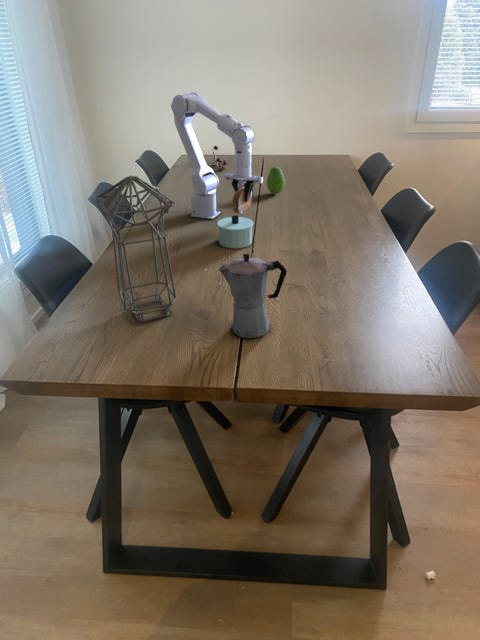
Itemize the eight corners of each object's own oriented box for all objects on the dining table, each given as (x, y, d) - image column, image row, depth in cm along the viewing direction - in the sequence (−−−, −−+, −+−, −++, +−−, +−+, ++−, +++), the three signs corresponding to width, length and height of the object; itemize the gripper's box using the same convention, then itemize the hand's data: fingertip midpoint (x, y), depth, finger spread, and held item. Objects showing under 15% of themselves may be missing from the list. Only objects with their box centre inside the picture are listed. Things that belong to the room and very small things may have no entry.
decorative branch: (223, 161, 229) (209, 137, 250) (213, 176, 233) (200, 152, 254) (240, 170, 236) (225, 146, 256) (231, 185, 240) (217, 160, 260)
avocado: (264, 195, 202) (264, 167, 195) (269, 190, 208) (270, 163, 201) (281, 197, 199) (282, 169, 193) (286, 192, 205) (287, 164, 199)
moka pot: (220, 320, 115) (217, 246, 104) (280, 316, 116) (283, 244, 105) (221, 341, 107) (219, 264, 96) (286, 338, 108) (290, 261, 97)
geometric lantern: (126, 333, 110) (101, 190, 92) (114, 303, 123) (89, 171, 104) (187, 319, 116) (176, 180, 97) (170, 291, 128) (157, 164, 109)
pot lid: (211, 229, 152) (211, 220, 150) (226, 217, 161) (225, 208, 160) (245, 234, 148) (245, 225, 146) (258, 222, 158) (258, 213, 156)
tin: (238, 217, 165) (239, 195, 160) (230, 215, 166) (231, 193, 161) (253, 203, 176) (255, 182, 171) (245, 201, 177) (247, 180, 172)
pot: (213, 245, 155) (213, 227, 152) (227, 233, 164) (226, 216, 161) (244, 250, 152) (244, 232, 148) (256, 238, 160) (256, 220, 157)
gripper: (220, 164, 161) (221, 201, 168) (258, 167, 156) (257, 206, 164) (227, 159, 166) (228, 196, 174) (265, 163, 162) (264, 200, 169)
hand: (243, 200), depth 169 cm, fingers closed on tin, 2 cm apart
